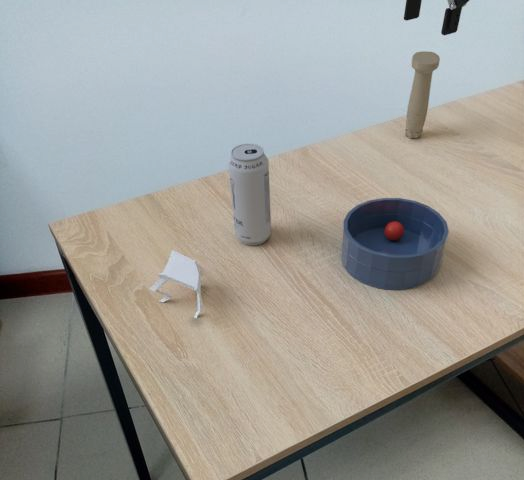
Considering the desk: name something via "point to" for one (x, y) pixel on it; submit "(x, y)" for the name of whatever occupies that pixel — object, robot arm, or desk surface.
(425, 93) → the handle
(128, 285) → the desk surface
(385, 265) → the bowl
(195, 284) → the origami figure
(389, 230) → the bead
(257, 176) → the energy drink can
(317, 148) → the desk surface
